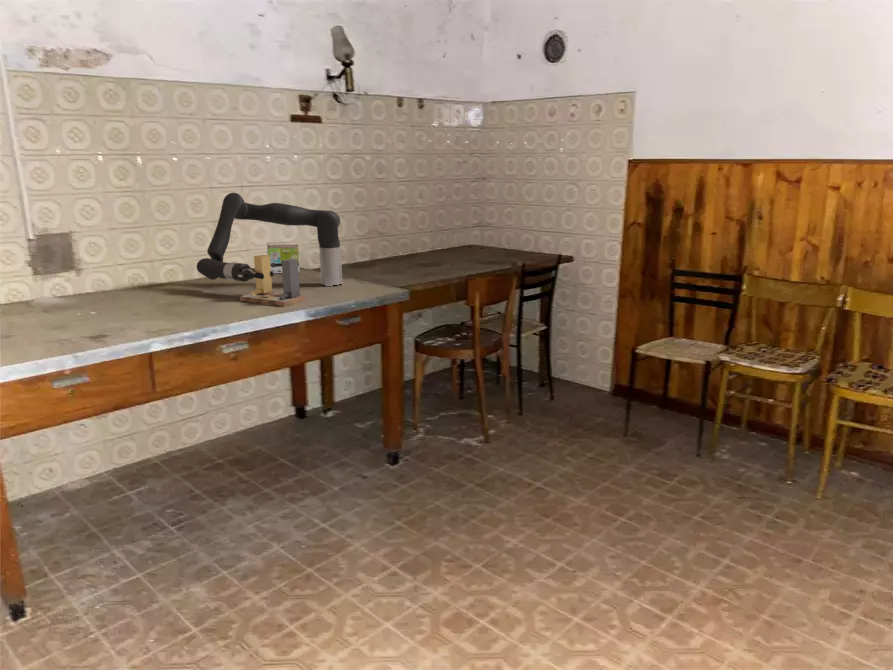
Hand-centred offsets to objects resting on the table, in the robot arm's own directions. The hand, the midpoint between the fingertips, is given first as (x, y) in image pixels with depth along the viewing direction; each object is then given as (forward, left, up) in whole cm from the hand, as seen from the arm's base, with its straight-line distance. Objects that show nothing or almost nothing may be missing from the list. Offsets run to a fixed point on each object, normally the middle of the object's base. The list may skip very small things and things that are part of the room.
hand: (268, 275), depth 277 cm
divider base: (-1, +5, -10) cm, 11 cm away
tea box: (-11, -65, -10) cm, 67 cm away
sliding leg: (+3, 0, -7) cm, 8 cm away
